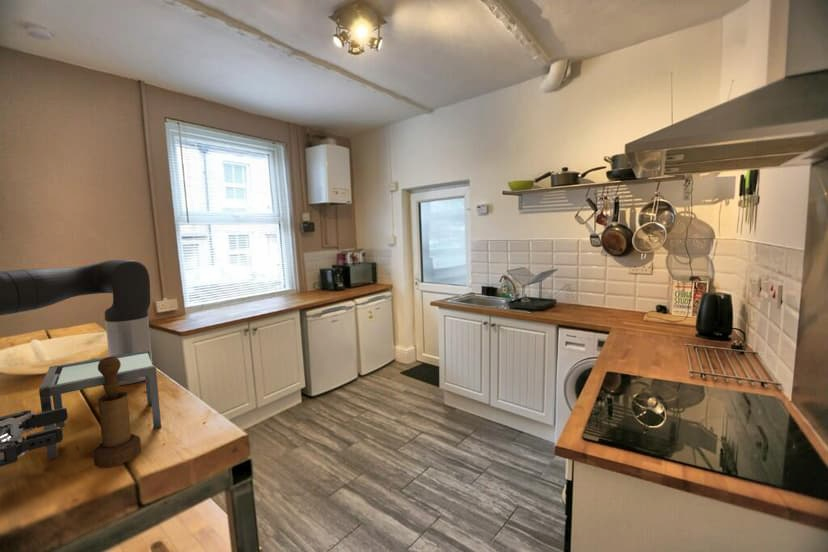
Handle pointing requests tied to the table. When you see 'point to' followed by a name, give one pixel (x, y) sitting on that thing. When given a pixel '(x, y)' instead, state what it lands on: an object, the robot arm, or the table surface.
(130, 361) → the trapdoor
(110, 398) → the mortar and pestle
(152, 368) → the frame
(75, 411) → the table surface
